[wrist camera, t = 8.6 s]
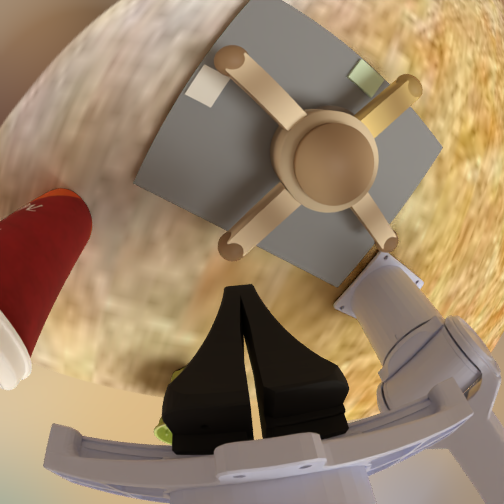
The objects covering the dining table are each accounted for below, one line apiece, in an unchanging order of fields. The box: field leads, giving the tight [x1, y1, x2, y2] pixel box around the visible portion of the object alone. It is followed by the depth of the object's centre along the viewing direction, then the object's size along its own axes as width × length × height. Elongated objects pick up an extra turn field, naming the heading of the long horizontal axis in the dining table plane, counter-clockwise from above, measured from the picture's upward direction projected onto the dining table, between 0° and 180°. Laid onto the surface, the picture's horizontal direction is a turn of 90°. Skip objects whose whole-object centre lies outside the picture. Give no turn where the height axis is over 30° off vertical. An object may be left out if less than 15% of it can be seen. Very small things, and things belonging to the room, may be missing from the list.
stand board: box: [133, 0, 443, 288], centre depth 19 cm, size 20×17×2 cm
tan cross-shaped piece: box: [214, 45, 422, 261], centre depth 17 cm, size 19×19×4 cm
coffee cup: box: [0, 188, 92, 390], centre depth 13 cm, size 8×8×15 cm
